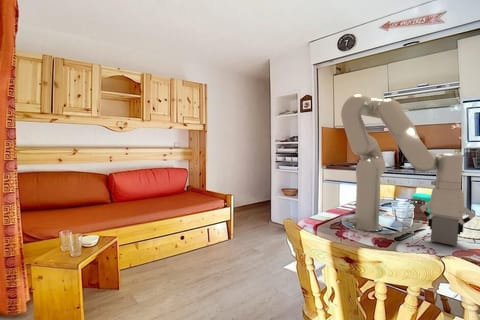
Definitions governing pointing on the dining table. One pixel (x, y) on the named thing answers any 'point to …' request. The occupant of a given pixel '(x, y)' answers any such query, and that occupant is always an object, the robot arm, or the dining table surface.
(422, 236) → the dining table surface
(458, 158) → the robot arm
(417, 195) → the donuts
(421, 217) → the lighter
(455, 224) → the taupe cardboard-like cube
